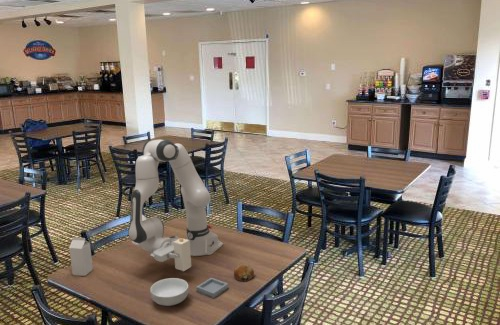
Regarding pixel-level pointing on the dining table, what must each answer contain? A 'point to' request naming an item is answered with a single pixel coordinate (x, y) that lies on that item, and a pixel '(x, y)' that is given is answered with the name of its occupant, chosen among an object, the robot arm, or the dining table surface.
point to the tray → (212, 287)
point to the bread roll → (243, 272)
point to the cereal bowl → (169, 291)
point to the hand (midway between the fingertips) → (183, 253)
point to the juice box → (182, 254)
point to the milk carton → (80, 257)
